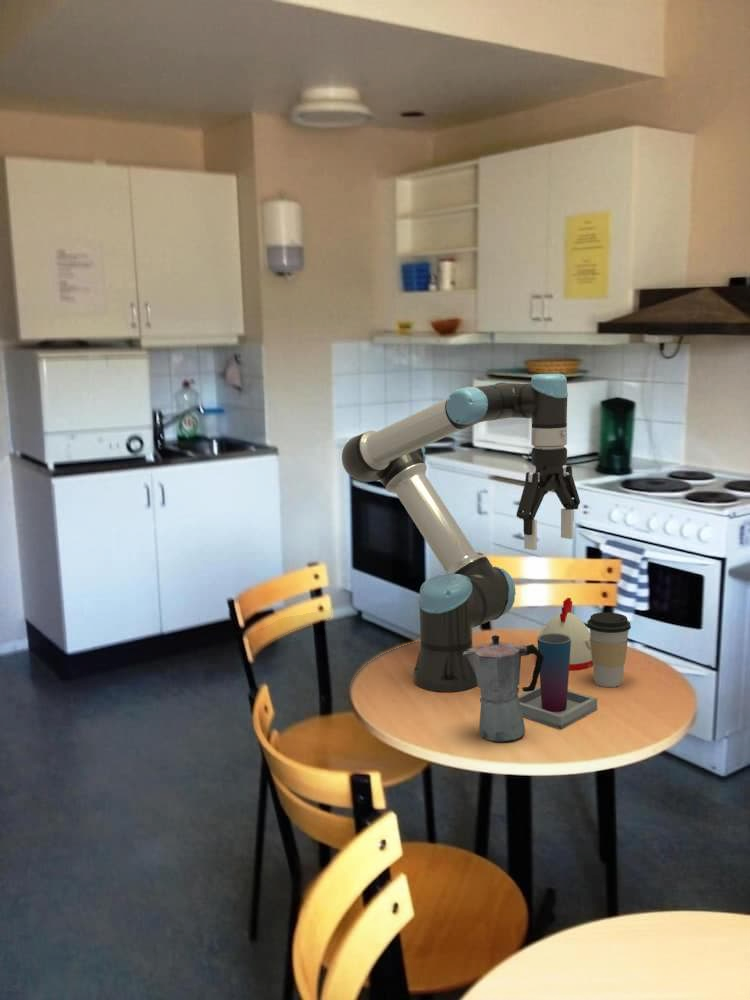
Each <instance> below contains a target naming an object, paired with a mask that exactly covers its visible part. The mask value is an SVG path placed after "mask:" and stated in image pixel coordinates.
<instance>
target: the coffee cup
mask: <svg viewBox="0 0 750 1000" xmlns="http://www.w3.org/2000/svg"><path fill="white" fill-rule="evenodd" d="M586 627H587V629H588V630H589V632H590V636H591V637H590V643H591V654H592V662H593V666H592V669H593V677H594V683H595V684H596V685H598V686H601V687H605V688H616V686H617V687H619V686H621V685H622V683H623V677H624V671H625V670H624V668H625V664H626V659H627V651H628V643H629V642H628V641H629V639H628V637H629V636H628V635H629V631H630V630H631V628H632V627H631V622H630V621H629V620H628V617H627V616H626V615H624V614H620V613H617V612H611V611H610V612H607V611H605V612H597V613H596V612H595V613H593V614H591V615H590V617H589V619H588V620H587V623H586Z"/></svg>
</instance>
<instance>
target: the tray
mask: <svg viewBox="0 0 750 1000" xmlns="http://www.w3.org/2000/svg"><path fill="white" fill-rule="evenodd" d="M518 697H519V702H520V706H521V712H522V716H523V718H526V719H528V720H531V721H534V722H538V723H541V724H543V725H546V726H549V727H553V728H555V729H559V730H563V729H565V728H566V727H568V726H570V725H572V724H573V723H575V722H577V721H579V720H581V719H583V718H584V717H586V716H588V715H590V714H592V713H593V712H595V711H597V710H598V698H597V697H593V696H591V695H587V694H584V693H580V692H577V691H574V690H571V689H568V692H567V707H566V709H565V710H564V711H561V712H550V711H547V710H544V709H543V708H542V702H541V687H540V685H538V686H535V689H534V690H533V691H527V692H522V693H521V694H519V695H518Z"/></svg>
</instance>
